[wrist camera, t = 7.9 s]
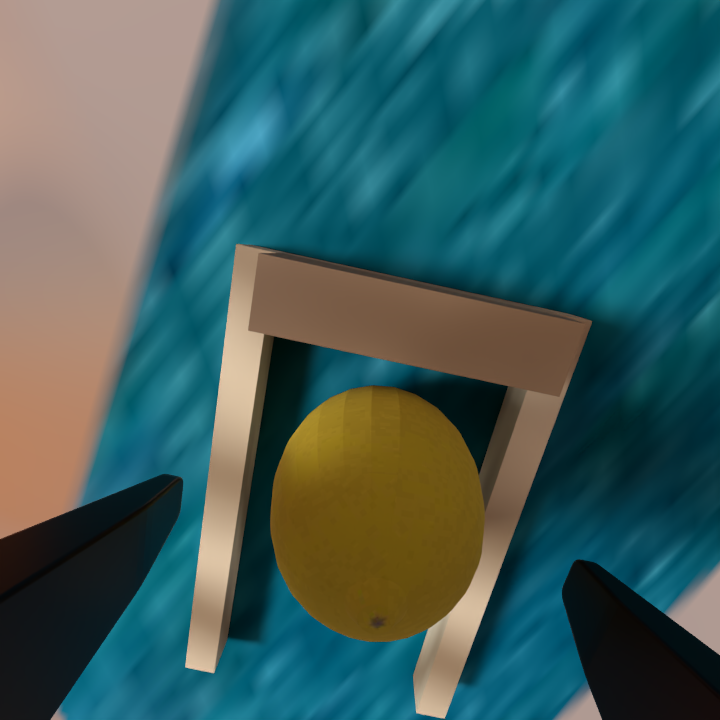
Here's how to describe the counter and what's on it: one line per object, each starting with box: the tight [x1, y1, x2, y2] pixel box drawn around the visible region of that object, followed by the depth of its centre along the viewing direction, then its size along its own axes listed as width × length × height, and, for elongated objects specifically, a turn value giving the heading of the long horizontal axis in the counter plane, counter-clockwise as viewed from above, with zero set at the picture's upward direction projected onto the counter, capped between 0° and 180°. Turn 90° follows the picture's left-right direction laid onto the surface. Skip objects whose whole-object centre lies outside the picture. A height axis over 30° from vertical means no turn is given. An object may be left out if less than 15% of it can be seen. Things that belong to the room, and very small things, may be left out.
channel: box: [185, 244, 592, 719], centre depth 14 cm, size 17×11×4 cm, turn 168°
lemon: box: [270, 386, 485, 642], centre depth 11 cm, size 6×6×8 cm
